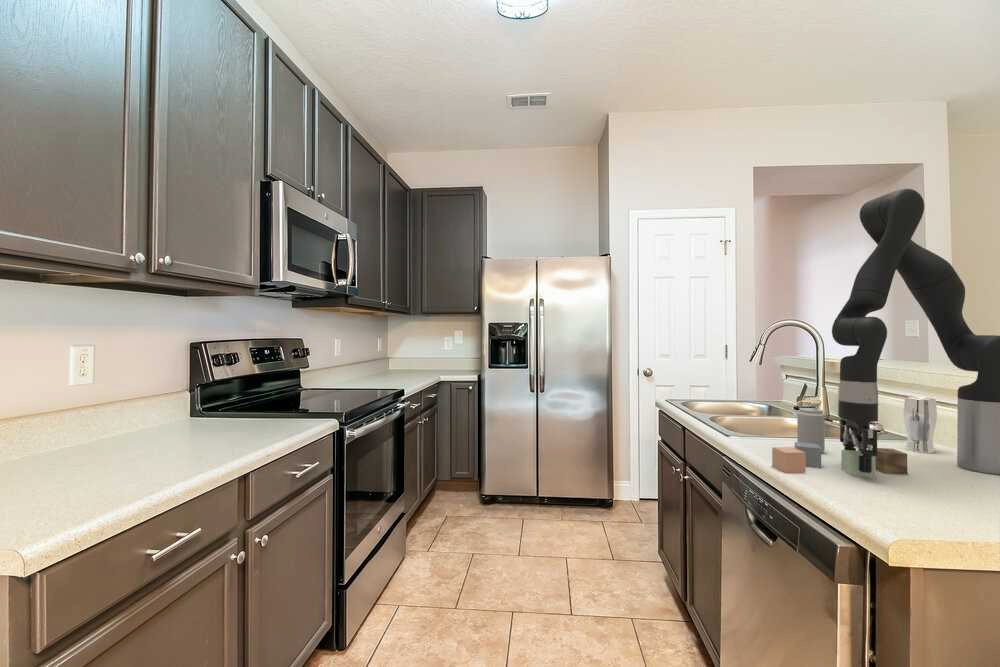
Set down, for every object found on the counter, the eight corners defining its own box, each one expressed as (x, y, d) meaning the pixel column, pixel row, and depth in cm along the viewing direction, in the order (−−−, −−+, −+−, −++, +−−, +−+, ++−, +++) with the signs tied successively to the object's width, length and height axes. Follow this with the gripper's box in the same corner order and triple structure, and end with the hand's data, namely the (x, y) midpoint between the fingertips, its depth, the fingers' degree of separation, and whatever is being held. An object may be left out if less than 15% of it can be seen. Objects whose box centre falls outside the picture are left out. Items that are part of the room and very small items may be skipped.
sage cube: (865, 471, 110) (865, 451, 110) (875, 478, 105) (875, 456, 105) (841, 469, 111) (841, 449, 111) (849, 475, 107) (849, 454, 107)
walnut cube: (892, 468, 112) (892, 448, 112) (907, 474, 107) (907, 453, 107) (870, 467, 113) (870, 447, 113) (884, 473, 108) (884, 453, 108)
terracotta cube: (791, 466, 114) (791, 447, 114) (805, 473, 109) (805, 452, 109) (772, 467, 114) (772, 447, 113) (785, 473, 109) (785, 452, 108)
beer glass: (943, 453, 126) (944, 400, 126) (918, 453, 126) (918, 400, 126) (920, 447, 133) (921, 396, 133) (897, 447, 133) (897, 396, 133)
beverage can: (829, 454, 125) (829, 411, 125) (803, 453, 126) (803, 410, 126) (817, 448, 131) (818, 407, 131) (793, 447, 132) (793, 406, 132)
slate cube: (817, 463, 117) (817, 444, 117) (821, 468, 112) (821, 448, 112) (794, 460, 119) (794, 441, 119) (797, 465, 115) (797, 446, 115)
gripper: (891, 405, 100) (891, 478, 100) (863, 396, 114) (862, 460, 114) (851, 403, 103) (850, 474, 103) (828, 395, 116) (827, 457, 116)
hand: (857, 467), depth 108 cm, fingers open, 8 cm apart
